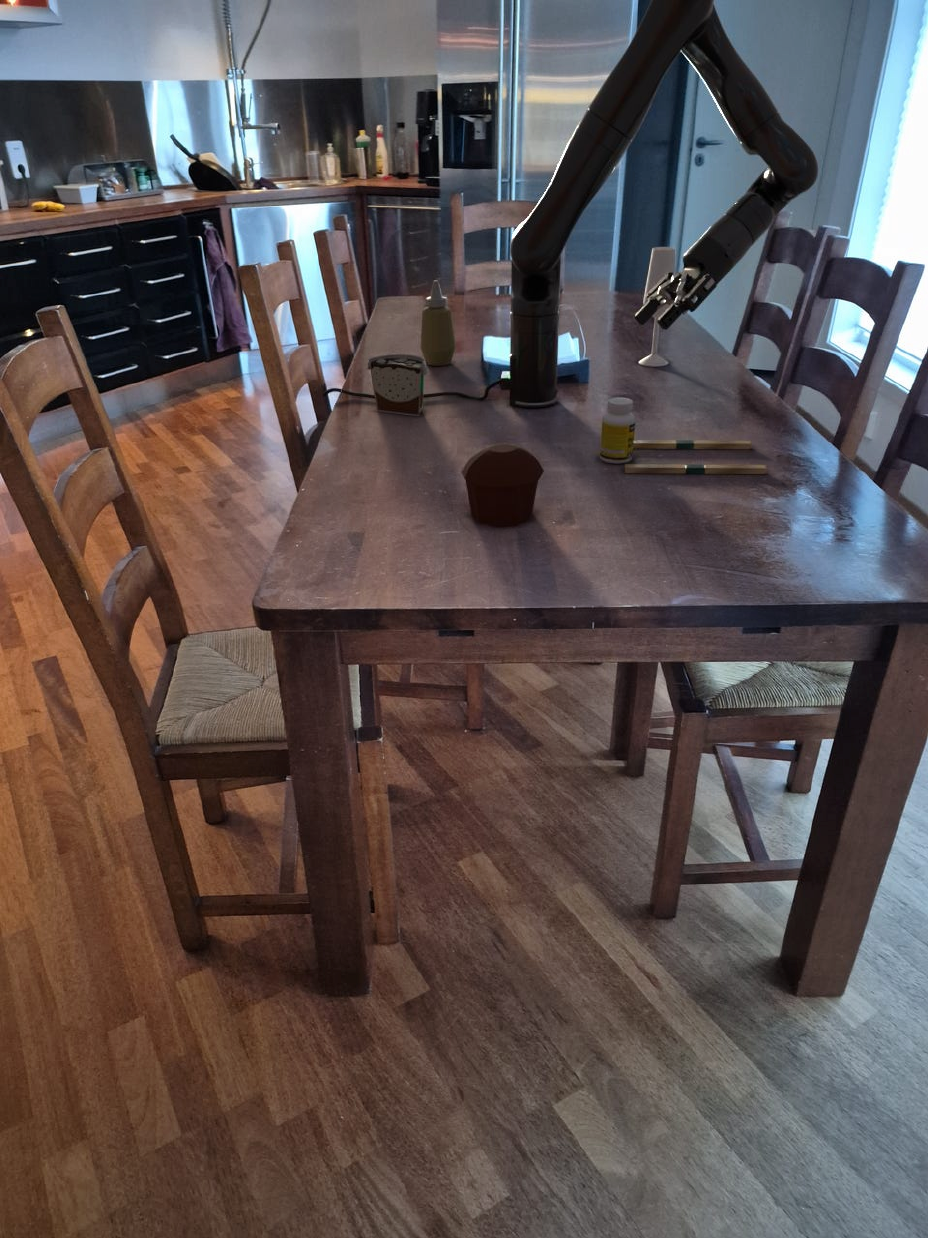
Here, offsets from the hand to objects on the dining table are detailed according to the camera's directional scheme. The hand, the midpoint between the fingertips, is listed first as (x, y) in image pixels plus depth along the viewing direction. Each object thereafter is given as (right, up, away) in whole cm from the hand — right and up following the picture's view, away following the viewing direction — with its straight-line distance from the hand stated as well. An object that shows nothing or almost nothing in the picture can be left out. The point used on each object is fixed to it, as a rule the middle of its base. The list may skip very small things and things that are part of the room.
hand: (649, 323), depth 147 cm
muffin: (-26, -35, -21) cm, 49 cm away
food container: (-43, -9, +23) cm, 50 cm away
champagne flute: (+12, +8, +49) cm, 51 cm away
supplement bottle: (-6, -24, -3) cm, 25 cm away
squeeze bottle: (-37, +9, +53) cm, 65 cm away
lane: (+6, -24, -4) cm, 25 cm away
